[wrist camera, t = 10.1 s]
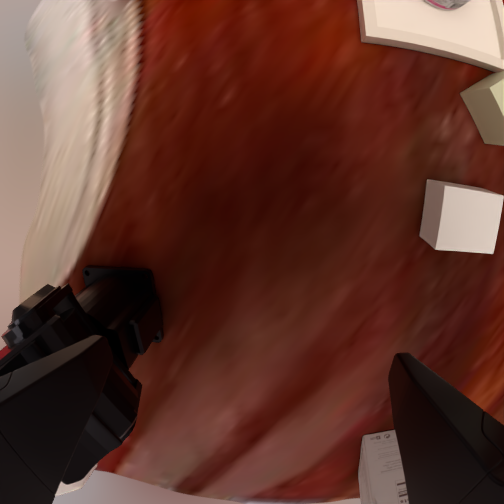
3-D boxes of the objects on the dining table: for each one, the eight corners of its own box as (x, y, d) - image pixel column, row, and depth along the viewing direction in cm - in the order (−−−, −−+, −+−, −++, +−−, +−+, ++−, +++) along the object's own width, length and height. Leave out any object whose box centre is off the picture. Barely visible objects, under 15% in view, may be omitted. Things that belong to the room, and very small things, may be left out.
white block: (418, 235, 20) (435, 249, 17) (425, 178, 18) (445, 185, 16) (472, 240, 19) (493, 253, 17) (481, 187, 18) (503, 195, 15)
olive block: (484, 143, 17) (516, 147, 13) (459, 93, 16) (489, 87, 12) (514, 121, 16) (546, 122, 12) (491, 74, 15) (522, 67, 11)
